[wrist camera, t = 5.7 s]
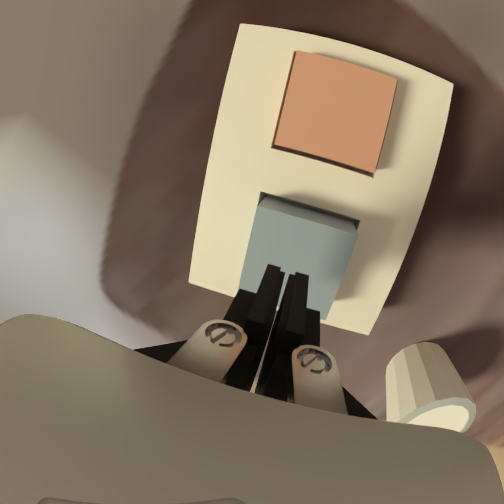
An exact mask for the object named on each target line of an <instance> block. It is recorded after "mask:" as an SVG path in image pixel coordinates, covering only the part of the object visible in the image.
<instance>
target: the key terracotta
mask: <svg viewBox="0 0 504 504" xmlns="http://www.w3.org/2000/svg"><path fill="white" fill-rule="evenodd" d="M396 83H397V79H396V78H394V77H391V76H388V75H385V74H383V73H380V72H377V71H374V70H371V69H368V68H365V67H361V66H358V65H355V64H351V63H348V62H344V61H341V60H337V59H333V58H330V57H326V56H321V55H317V54H313V53H308V52H304V51H299V50H297V51H296V56H295V60H294V64H293V68H292V72H291V76H290V80H289V85H288V89H287V93H286V97H285V101H284V106H283V110H282V114H281V118H280V122H279V127H278V131H277V135H276V139H275V143H274V144H275V145H279V146H283V147H287V148H291V149H295V150H298V151H302V152H306V153H310V154H313V155H317V156H320V157H324V158H327V159H331V160H334V161H337V162H340V163H344V164H347V165H350V166H353V167H356V168H359V169H363V170H366V171H369V172H372V173H374V172H375V169H376V165H377V162H378V158H379V155H380V151H381V147H382V143H383V139H384V135H385V132H386V127H387V123H388V119H389V115H390V111H391V106H392V102H393V97H394V93H395V88H396Z"/></svg>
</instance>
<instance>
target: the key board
mask: <svg viewBox="0 0 504 504" xmlns="http://www.w3.org/2000/svg"><path fill="white" fill-rule="evenodd" d="M297 50H299V51H304V52H308V53H313V54H317V55H321V56H326V57H330V58H333V59H337V60H341V61H344V62H348V63H351V64H355V65H358V66H361V67H365V68H368V69H371V70H374V71H377V72H380V73H383V74H385V75H388V76H391V77H394V78H396V79H397V83H396V88H395V93H394V97H393V102H392V106H391V111H390V115H389V119H388V123H387V127H386V132H385V135H384V139H383V143H382V147H381V151H380V155H379V158H378V162H377V165H376V169H375V172H374V173H372V172H369V171H366V170H363V169H359V168H356V167H353V166H350V165H347V164H344V163H340V162H337V161H334V160H331V159H327V158H324V157H320V156H317V155H313V154H310V153H306V152H302V151H298V150H295V149H291V148H287V147H283V146H279V145H275V144H274V143H275V139H276V135H277V131H278V127H279V122H280V118H281V114H282V110H283V106H284V101H285V97H286V93H287V89H288V85H289V80H290V76H291V72H292V68H293V64H294V60H295V56H296V51H297ZM452 91H453V84H452V83H450V82H448V81H446V80H444V79H442V78H440V77H438V76H436V75H434V74H431V73H429V72H427V71H425V70H422V69H420V68H418V67H415V66H413V65H410V64H408V63H405V62H403V61H400V60H397V59H395V58H392V57H389V56H386V55H384V54H381V53H378V52H375V51H372V50H369V49H365V48H362V47H359V46H356V45H352V44H349V43H345V42H341V41H337V40H334V39H330V38H325V37H321V36H317V35H312V34H307V33H302V32H297V31H292V30H286V29H280V28H273V27H266V26H258V25H250V24H240V27H239V31H238V34H237V38H236V42H235V46H234V50H233V53H232V57H231V61H230V65H229V69H228V73H227V78H226V82H225V86H224V90H223V95H222V99H221V103H220V108H219V112H218V117H217V122H216V126H215V131H214V136H213V141H212V146H211V151H210V156H209V161H208V166H207V171H206V177H205V182H204V188H203V193H202V199H201V205H200V211H199V217H198V223H197V229H196V235H195V242H194V248H193V255H192V262H191V269H190V276H189V283H192V284H195V285H198V286H201V287H204V288H207V289H210V290H213V291H216V292H220V293H223V294H226V295H229V296H232V297H235V296H236V294H237V292H238V287H239V283H240V279H241V274H242V270H243V266H244V261H245V257H246V253H247V248H248V244H249V240H250V235H251V231H252V227H253V223H254V218H255V214H256V210H257V206H258V205H259V204H260V203H261V201H262V200H263V199H264V198H265V197H269V198H272V199H276V200H280V201H283V202H287V203H291V204H294V205H298V206H301V207H305V208H308V209H311V210H315V211H318V212H322V213H325V214H328V215H332V216H335V217H338V218H342V219H345V220H348V221H351V222H353V223H354V226H355V228H356V231H357V234H358V237H357V240H356V243H355V246H354V248H353V251H352V254H351V257H350V260H349V262H348V265H347V268H346V270H345V273H344V276H343V278H342V281H341V283H340V286H339V289H338V291H337V294H336V296H335V299H334V301H333V304H332V306H331V308H330V311H329V313H328V316H327V318H326V320H322V319H320V323H324V324H328V325H331V326H335V327H339V328H342V329H346V330H350V331H354V332H358V333H362V334H366V335H369V333H370V331H371V329H372V327H373V325H374V323H375V321H376V319H377V317H378V315H379V313H380V311H381V309H382V307H383V305H384V303H385V301H386V298H387V296H388V294H389V292H390V290H391V287H392V285H393V283H394V281H395V278H396V276H397V274H398V271H399V269H400V267H401V264H402V262H403V259H404V257H405V254H406V252H407V249H408V247H409V244H410V242H411V239H412V236H413V234H414V231H415V228H416V226H417V223H418V220H419V217H420V214H421V211H422V208H423V205H424V202H425V199H426V196H427V193H428V190H429V187H430V183H431V180H432V177H433V173H434V170H435V166H436V163H437V159H438V155H439V151H440V147H441V143H442V139H443V135H444V131H445V126H446V122H447V117H448V112H449V107H450V102H451V96H452ZM278 309H279V307H277V309H276V310H278Z"/></svg>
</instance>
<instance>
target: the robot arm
mask: <svg viewBox="0 0 504 504" xmlns="http://www.w3.org/2000/svg"><path fill="white" fill-rule="evenodd" d="M280 270H281V267H278V266H275V265H271V264H268V265H267V267H266V270H265V273H264V275H263V278H262V280H261V283H260V285H259V288H258V290H257V293H254V292H250V291H247V290H244V289H239V290H238V292H237V294H236V296H235V298H234V300H233V302H232V304H231V306H230V308H229V309H228V311H227V313H226V315H225V317H224V319H223V320H212V321H208V322H206V323H205V324H203V325H202V326H201V327H200V328H199V329H198V330H197V331H196V333H195V334H194V335H193V336H192V337H191V338H190V339H189V340H186V341H181V342H175V343H170V344H164V345H159V346H153V347H147V348H140V349H135V350H132V349H129V348H127V347H125V346H123V345H120V344H118V343H116V342H114V341H111V340H109V339H107V338H104V337H102V336H100V335H98V334H96V333H93V332H91V331H89V330H87V329H85V328H83V327H80V326H77V325H75V324H72V323H70V322H67V321H63V320H60V319H57V318H53V317H48V316H43V315H34V314H24V315H19V316H16V317H13V318H11V319H9V320H7V321H5V322H3V323H2V324H0V504H504V492H503V487H502V483H501V480H500V477H499V474H498V471H497V468H496V465H495V462H494V460H493V458H492V456H491V454H490V452H489V450H488V448H487V447H486V446H485V445H484V444H483V443H481V442H480V441H479V440H477V439H475V438H473V437H471V436H469V435H466V434H464V433H461V432H458V431H454V430H451V429H445V428H440V427H433V426H424V425H415V424H408V423H399V422H390V421H383V420H378V419H377V418H376V417H375V416H374V415H372V414H371V413H370V412H369V411H368V410H367V409H366V408H365V407H364V406H363V405H362V404H361V403H359V402H358V401H357V400H356V399H355V398H354V397H353V396H352V395H351V394H350V393H349V392H348V391H347V390H346V389H345V388H343V387H342V385H341V381H340V376H339V372H338V367H337V363H336V361H335V359H334V357H333V356H332V355H331V354H330V353H329V352H327V351H326V350H324V349H322V348H320V311H317V310H313V309H310V308H307V297H308V284H309V275H306V274H303V273H299V272H295V275H293V274H289V277H288V280H287V283H286V286H285V290H284V293H283V296H282V299H281V302H280V305H279V309H278V312H277V315H276V318H275V321H274V324H273V320H274V317H275V313H276V309H277V305H278V301H279V297H280V293H281V289H282V285H283V280H284V276H285V272H282V271H280ZM272 324H273V327H272ZM271 328H272V330H271ZM270 331H271V334H270ZM269 334H270V337H269ZM268 337H269V341H268V345H267V349H266V353H265V356H264V360H263V364H262V367H261V371H260V375H259V378H258V382H257V386H256V389H255V394H254V393H251V392H250V390H251V387H252V384H253V381H254V378H255V376H256V373H257V370H258V367H259V364H260V361H261V358H262V355H263V352H264V349H265V346H266V343H267V340H268ZM247 391H248V392H247Z"/></svg>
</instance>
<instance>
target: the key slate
mask: <svg viewBox="0 0 504 504" xmlns="http://www.w3.org/2000/svg"><path fill="white" fill-rule="evenodd" d="M357 237H358V234H357V231H356V228H355V226H354V223H353V222H351V221H348V220H345V219H342V218H338V217H335V216H332V215H328V214H325V213H322V212H318V211H315V210H311V209H308V208H305V207H301V206H298V205H294V204H291V203H287V202H283V201H280V200H276V199H272V198H269V197H265V198H264V199H263V200H262V201H261V203H260V204H259V205H258V206H257V210H256V214H255V218H254V223H253V227H252V231H251V235H250V240H249V244H248V248H247V253H246V257H245V261H244V266H243V270H242V274H241V279H240V283H239V287H238V290H239V289H244V290H247V291H250V292H254V293H257V290H258V288H259V285H260V283H261V280H262V278H263V275H264V273H265V270H266V267H267V265H268V264H271V265H275V266H278V267H281V270H280V271H282V272H285V276H284V280H283V285H282V289H281V293H280V297H279V301H278V305H277V307H279V305H280V302H281V299H282V296H283V293H284V290H285V286H286V283H287V280H288V277H289V274H293V275H295V272H299V273H303V274H306V275H309V284H308V297H307V308H310V309H313V310H317V311H320V319H322V320H326V318H327V316H328V313H329V311H330V308H331V306H332V304H333V301H334V299H335V296H336V294H337V291H338V289H339V286H340V283H341V281H342V278H343V276H344V273H345V270H346V268H347V265H348V262H349V260H350V257H351V254H352V251H353V248H354V246H355V243H356V240H357Z"/></svg>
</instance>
